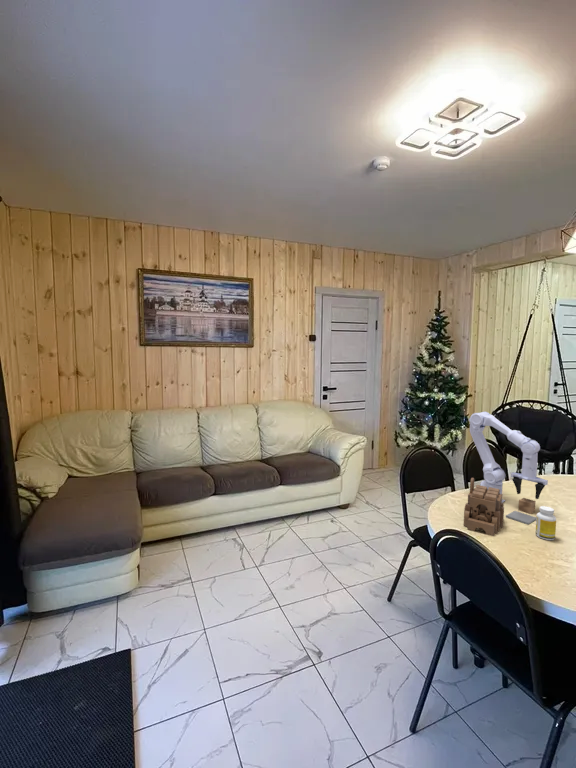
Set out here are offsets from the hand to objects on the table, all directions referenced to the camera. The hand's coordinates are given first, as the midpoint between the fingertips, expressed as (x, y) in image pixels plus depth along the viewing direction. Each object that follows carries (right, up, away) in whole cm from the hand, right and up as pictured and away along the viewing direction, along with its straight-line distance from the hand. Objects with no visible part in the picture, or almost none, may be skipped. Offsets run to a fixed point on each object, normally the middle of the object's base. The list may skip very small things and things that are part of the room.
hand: (527, 496), depth 174 cm
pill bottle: (-9, -9, -25) cm, 28 cm away
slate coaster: (-8, -8, -8) cm, 13 cm away
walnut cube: (0, -7, +1) cm, 7 cm away
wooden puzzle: (-27, -8, -12) cm, 31 cm away
